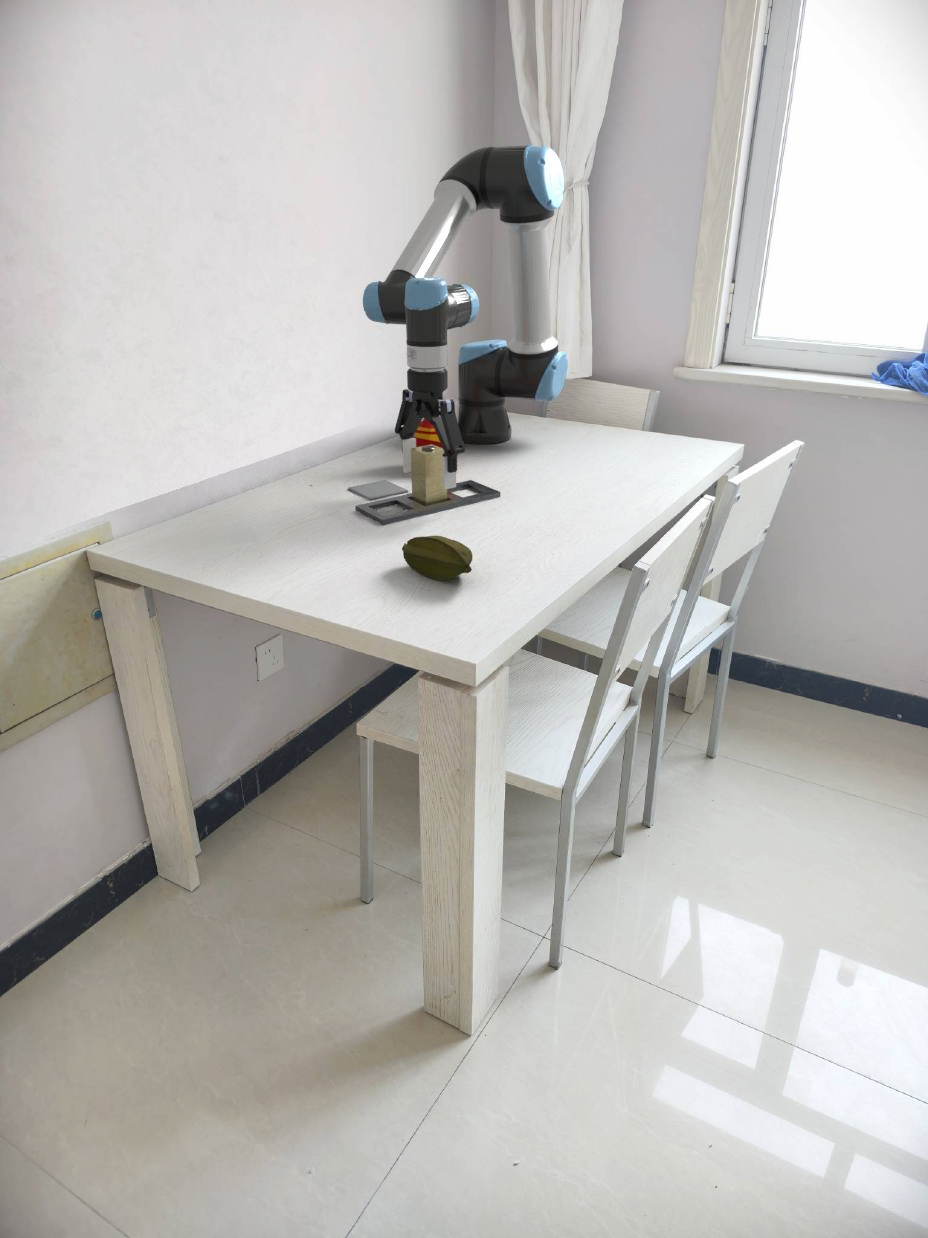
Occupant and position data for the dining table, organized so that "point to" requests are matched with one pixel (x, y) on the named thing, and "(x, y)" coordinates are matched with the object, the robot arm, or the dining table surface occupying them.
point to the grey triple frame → (419, 509)
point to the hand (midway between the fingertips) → (429, 479)
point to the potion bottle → (426, 435)
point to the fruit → (437, 557)
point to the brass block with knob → (427, 475)
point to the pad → (378, 489)
